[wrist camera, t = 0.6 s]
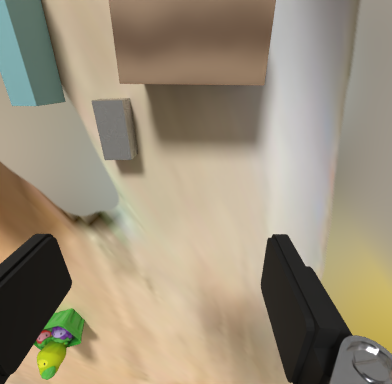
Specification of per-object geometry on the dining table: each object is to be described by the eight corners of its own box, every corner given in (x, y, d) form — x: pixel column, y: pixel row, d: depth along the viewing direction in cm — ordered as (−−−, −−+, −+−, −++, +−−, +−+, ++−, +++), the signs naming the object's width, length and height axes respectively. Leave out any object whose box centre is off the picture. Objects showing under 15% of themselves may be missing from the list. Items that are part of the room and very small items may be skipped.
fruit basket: (73, 303, 52) (42, 356, 42) (95, 324, 55) (70, 379, 45) (36, 313, 54) (-2, 366, 44) (59, 333, 58) (28, 386, 48)
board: (120, -16, 22) (104, -34, 19) (268, -15, 22) (280, -34, 18) (131, 83, 26) (119, 83, 23) (256, 84, 26) (264, 85, 22)
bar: (102, 98, 31) (91, 100, 28) (130, 98, 31) (122, 100, 28) (113, 153, 35) (104, 160, 32) (138, 152, 35) (131, 159, 32)
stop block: (7, -31, 25) (-46, -61, 20) (33, -31, 25) (-14, -61, 20) (44, 101, 31) (12, 105, 26) (65, 101, 31) (36, 105, 26)
